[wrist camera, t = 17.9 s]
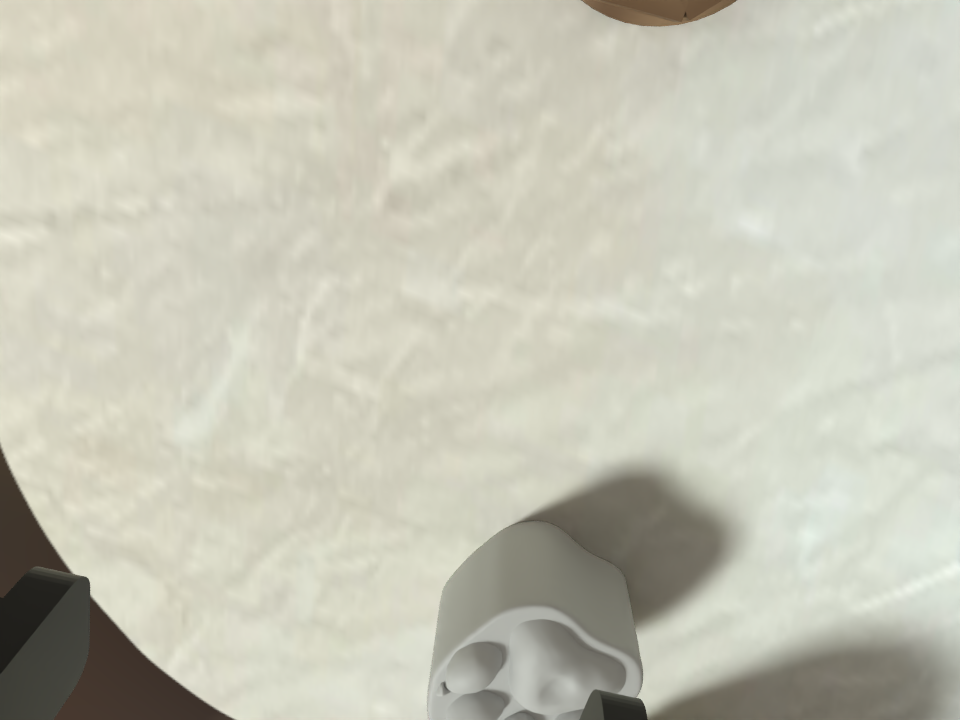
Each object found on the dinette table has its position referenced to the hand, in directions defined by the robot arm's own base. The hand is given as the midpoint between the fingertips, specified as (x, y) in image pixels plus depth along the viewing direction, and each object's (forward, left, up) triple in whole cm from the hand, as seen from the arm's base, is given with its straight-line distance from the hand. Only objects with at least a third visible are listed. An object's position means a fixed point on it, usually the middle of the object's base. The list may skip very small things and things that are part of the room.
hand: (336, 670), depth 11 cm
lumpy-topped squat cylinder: (-9, +24, -28) cm, 38 cm away
